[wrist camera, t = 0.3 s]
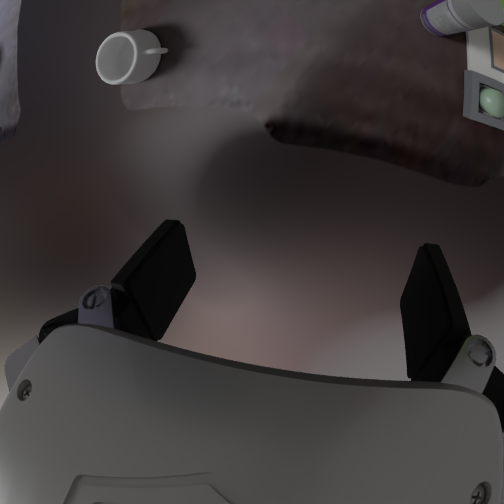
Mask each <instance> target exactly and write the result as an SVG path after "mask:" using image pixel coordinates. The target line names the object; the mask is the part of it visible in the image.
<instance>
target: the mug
mask: <svg viewBox="0 0 504 504" xmlns="http://www.w3.org/2000/svg"><path fill="white" fill-rule="evenodd" d="M167 52H168V49H167V48H161V45H160V42H159V40H158V38H157V37H156V36H155V35H154V34H153V33H151V32H150V31H146V30H141V29H140V30H130V31H123V32H116V33H114V34H112V35H110V36H109V37H107V38H106V39H105V40H104V42H103V43H102V44H101V46H100V48H99V50H98V53H97V56H96V68H97V72H98V74H99V76H100V77H101V79H102V80H103V81H105V82H106V83H109V84H134V83H138V82H141V81H144V80H146V79H147V78H149V77H150V76H151V75H152V74H153V73H154V72H155V70H156V68H157V67H158V64H159V62H160V58H161V54H164V53H167Z"/></svg>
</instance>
